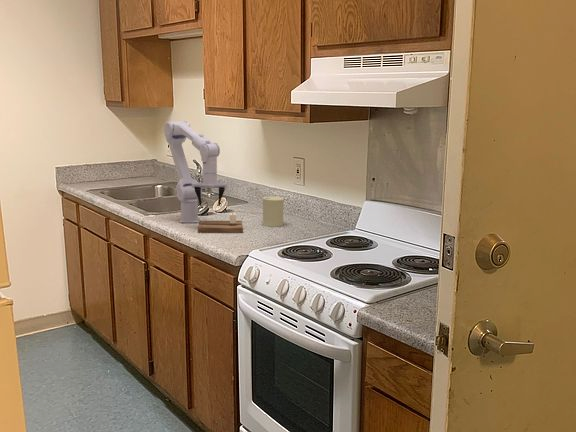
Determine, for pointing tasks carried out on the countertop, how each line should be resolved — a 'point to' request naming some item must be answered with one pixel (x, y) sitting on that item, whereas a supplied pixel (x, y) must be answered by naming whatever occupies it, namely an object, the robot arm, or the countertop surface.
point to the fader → (232, 218)
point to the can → (273, 211)
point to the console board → (219, 227)
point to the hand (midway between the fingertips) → (209, 205)
